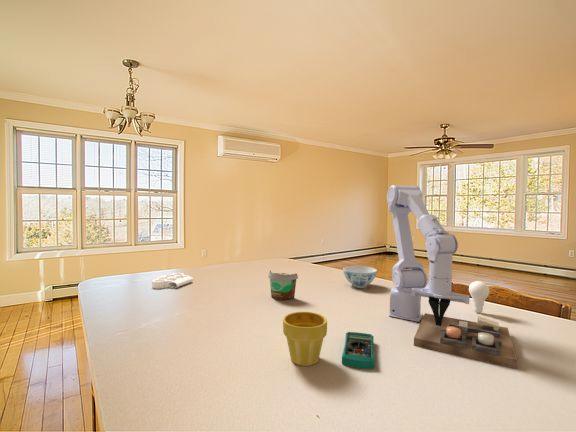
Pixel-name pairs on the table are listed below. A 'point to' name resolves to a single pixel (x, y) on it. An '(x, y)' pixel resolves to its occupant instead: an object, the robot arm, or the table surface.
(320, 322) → the plant pot
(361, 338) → the digital multimeter
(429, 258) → the robot arm
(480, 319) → the block
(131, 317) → the table surface
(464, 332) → the light grey small block
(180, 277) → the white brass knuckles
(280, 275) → the food container
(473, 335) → the brown flat wooden tray
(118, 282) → the table surface
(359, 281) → the chinaware
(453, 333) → the peach egg shape
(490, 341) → the cream egg shape
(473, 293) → the lightbulb
